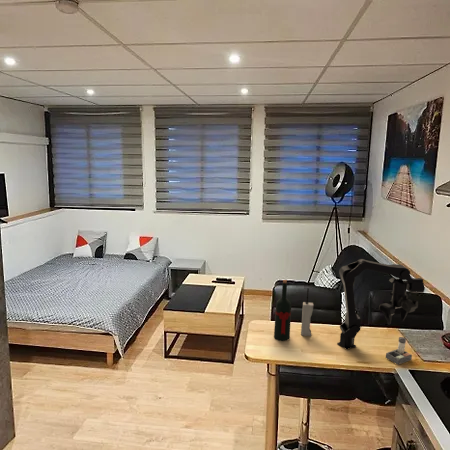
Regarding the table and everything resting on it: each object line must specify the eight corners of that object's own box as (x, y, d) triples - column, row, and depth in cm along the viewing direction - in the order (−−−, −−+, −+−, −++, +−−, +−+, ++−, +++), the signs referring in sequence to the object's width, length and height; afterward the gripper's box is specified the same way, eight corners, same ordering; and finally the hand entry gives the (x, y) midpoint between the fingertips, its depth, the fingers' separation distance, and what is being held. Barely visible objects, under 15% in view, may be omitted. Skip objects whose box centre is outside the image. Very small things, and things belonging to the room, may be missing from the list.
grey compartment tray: (397, 364, 171) (398, 359, 171) (385, 357, 177) (386, 352, 176) (411, 359, 176) (412, 354, 175) (398, 353, 181) (399, 347, 181)
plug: (400, 358, 176) (403, 340, 174) (395, 355, 178) (397, 337, 177) (405, 357, 177) (407, 339, 176) (399, 354, 180) (401, 336, 178)
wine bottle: (274, 342, 188) (277, 284, 183) (273, 333, 198) (276, 277, 193) (290, 343, 188) (294, 285, 182) (288, 334, 198) (292, 278, 192)
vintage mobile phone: (311, 336, 196) (314, 289, 191) (301, 335, 197) (304, 289, 192) (310, 333, 199) (314, 287, 195) (301, 332, 200) (304, 286, 196)
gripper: (400, 300, 170) (396, 333, 173) (427, 294, 179) (423, 325, 182) (380, 292, 180) (376, 323, 183) (406, 287, 188) (403, 316, 191)
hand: (395, 322), depth 184 cm, fingers open, 9 cm apart
